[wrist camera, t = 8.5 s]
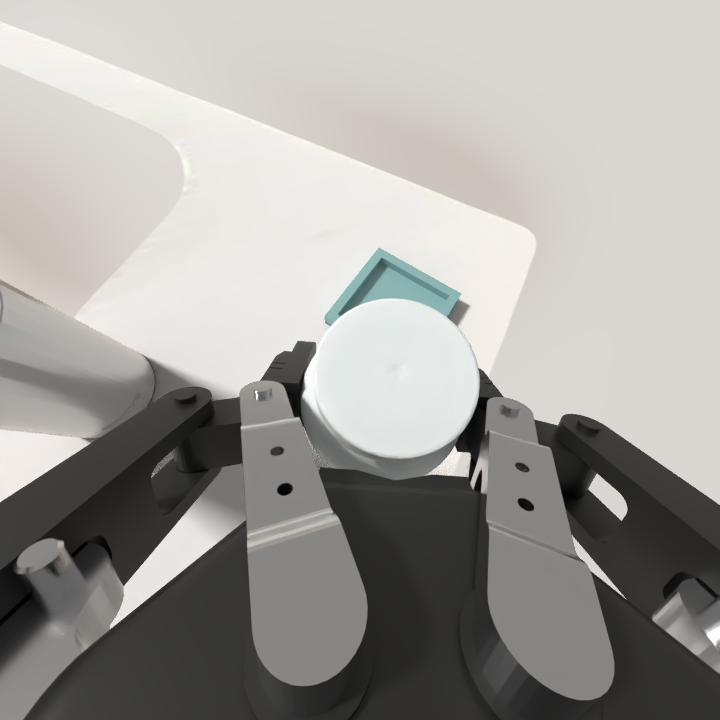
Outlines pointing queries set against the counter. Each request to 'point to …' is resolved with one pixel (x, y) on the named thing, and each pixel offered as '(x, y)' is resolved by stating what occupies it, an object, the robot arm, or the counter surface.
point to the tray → (393, 287)
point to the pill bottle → (389, 389)
